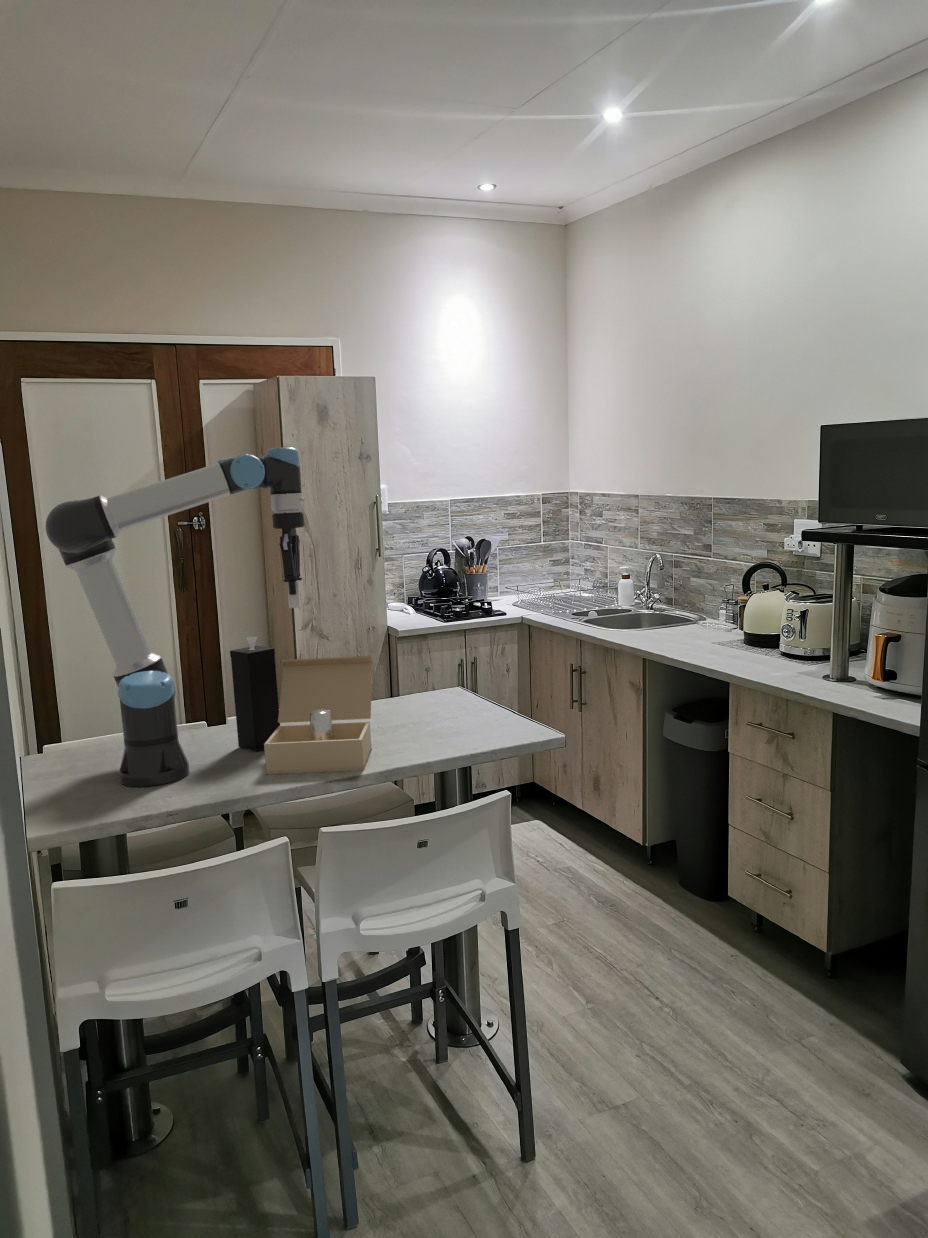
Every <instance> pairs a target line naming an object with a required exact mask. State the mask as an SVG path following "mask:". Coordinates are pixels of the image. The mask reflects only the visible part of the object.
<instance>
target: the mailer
mask: <svg viewBox="0 0 928 1238" xmlns="http://www.w3.org/2000/svg"><path fill="white" fill-rule="evenodd" d="M332 735H333V740H323V741H311V727H310V723H309V724H292V725H291V724H290V725H289V724H288V725H280V726H279V727H278V728H277V729H276V730H275V731H274V733H273V734H272V735H271V736H270V738H269V739H268V740H267V741H266V742H265V744H264V749H263V750H264V759H265V769H266V775H277V774H278V775H279V774H280V775H281V774H300V773H303V774H304V773H319V772H320V773H321V772H323V773H325V772H343V771H345V772H346V771H349V772H350V771H364V770H365V768H366V766H367V763H368V761H369V758H370V755H371V752H372V750H373V749H372V736H371V735H372V733H371V722H370V721H360V722H359V721H358V722H357V721H355V722H334V723H333V722H332Z"/></svg>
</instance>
